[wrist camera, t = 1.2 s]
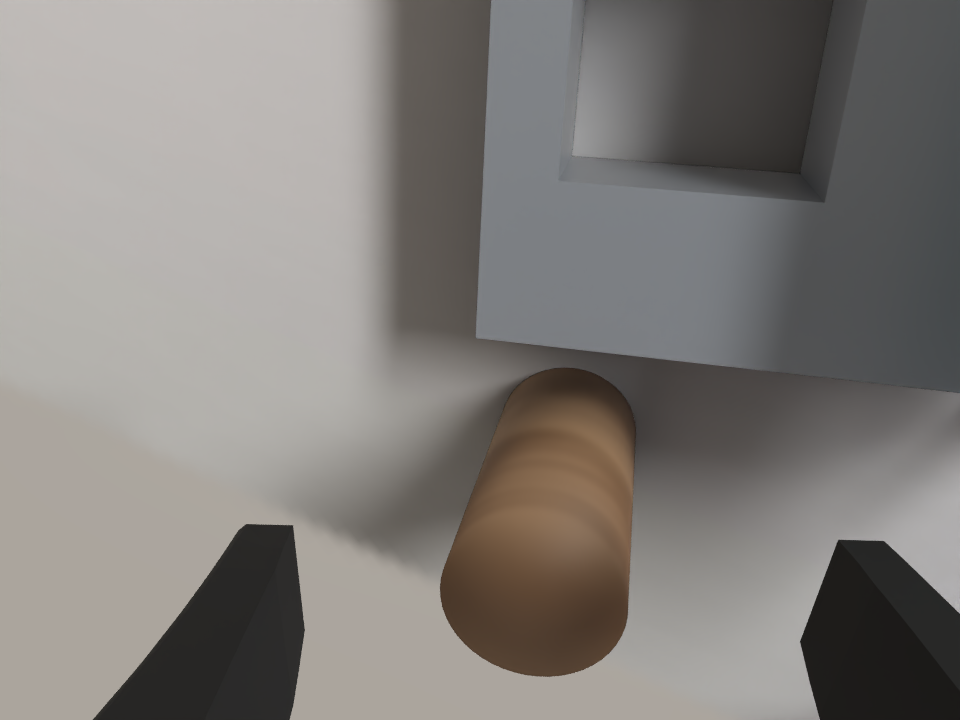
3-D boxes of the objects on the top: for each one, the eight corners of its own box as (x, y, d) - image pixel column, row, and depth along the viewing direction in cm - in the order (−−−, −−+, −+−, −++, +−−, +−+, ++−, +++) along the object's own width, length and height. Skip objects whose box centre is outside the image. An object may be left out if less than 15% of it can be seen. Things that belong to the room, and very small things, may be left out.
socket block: (1023, 349, 19) (1084, 406, 16) (499, 294, 21) (475, 338, 18) (1237, -306, 14) (1374, -379, 12) (532, -301, 16) (507, -363, 13)
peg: (627, 496, 22) (616, 690, 16) (497, 478, 23) (437, 659, 17) (643, 376, 21) (638, 537, 15) (505, 360, 22) (442, 508, 15)
